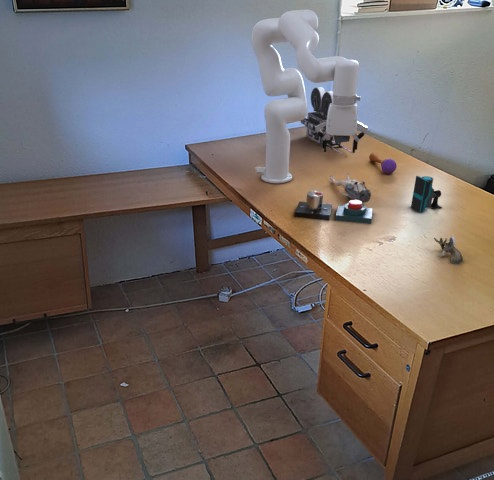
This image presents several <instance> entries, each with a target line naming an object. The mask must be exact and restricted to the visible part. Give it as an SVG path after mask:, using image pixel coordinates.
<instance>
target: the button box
mask: <svg viewBox="0 0 494 480" xmlns="http://www.w3.org/2000/svg"><path fill="white" fill-rule="evenodd" d="M348 206H349V202H347V203H345V204H344V205H339V204H338V205H337V208H336V212H335V217H334V218H335V219H334V221H337V222H346V223H347V222H348V223H356V224H367V225H371V224H372V218H373V210H374V209H373V208H372V207H371V208H370V207H367V206H366V205H365V204H364V203H362V208H361V209H357V210H356V209H351V208H349V207H348Z"/></svg>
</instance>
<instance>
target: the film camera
mask: <svg viewBox="0 0 494 480" xmlns="http://www.w3.org/2000/svg"><path fill="white" fill-rule="evenodd" d="M332 98H333V90H330V91H329V90H328V91H326V89H325V88H324V87H323V86H317V87H314V88H313V89H312V90H311V93H310V103H311V106H312V109H313V111H311V112H307V116H306V117H305V119H303V120H301V121H300V124H301V125H303V126H305V128H306V131H305V132H306V133H305V137H306V138H308V139H309V140H311V141H312V142H314V143H316V144H318V145H319V146H321V147H322V144H323V140H322V138H321V137H320V136H319V135H318V133H317V131H316V129H315V127H316V126H317V125H319V124H321V123H323V122H325V121H327V115H328V109H329V105H330V103H332ZM320 130H321V132H322V133H323V134H325V133H326V126H325V127H323V128H321V129H320ZM350 139H351V136H339V135H329V136H328V137H327V146H326V147H328V148H330V149H331V150H333V151H334V152H335V151H336V152H337V153H338V154H341V155H344V152H342V151H340V150H338V149H344V150H346V151H347V152H349V153H351V154H354V153H353V152H352V150H351V149H348V148H346V147H345V146H344V145H343V144H342V143H348V142H350Z"/></svg>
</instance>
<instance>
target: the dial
mask: <svg viewBox="0 0 494 480" xmlns="http://www.w3.org/2000/svg"><path fill="white" fill-rule="evenodd" d="M305 202H306V209H308V210H310V211H319V210H321V209H322V203H323V202H324V192H322V191H320V190H308V191H307V192H306V201H305ZM323 204H324V203H323Z"/></svg>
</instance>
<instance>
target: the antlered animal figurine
mask: <svg viewBox="0 0 494 480" xmlns="http://www.w3.org/2000/svg"><path fill="white" fill-rule="evenodd" d="M433 240H434V241H435V242H436V243H438V244H439V246H440V248H441V250H442V252H441V255H440V256H439V257H440V258H442V257H444V256H446V254H450V262H451V263H452V264H454V265H459V264H461V263H462V262H463V259H464V257H463V255H462V253H461V251H459V249H458V248H457V247H455V246H456V238H455V237H454V236H453V235H450V237H449V239H448V238H446V237H445V239H444V240H443V237H440V238H439V240H438V239H437V238H436V237H433ZM447 241H449V242H447Z"/></svg>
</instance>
